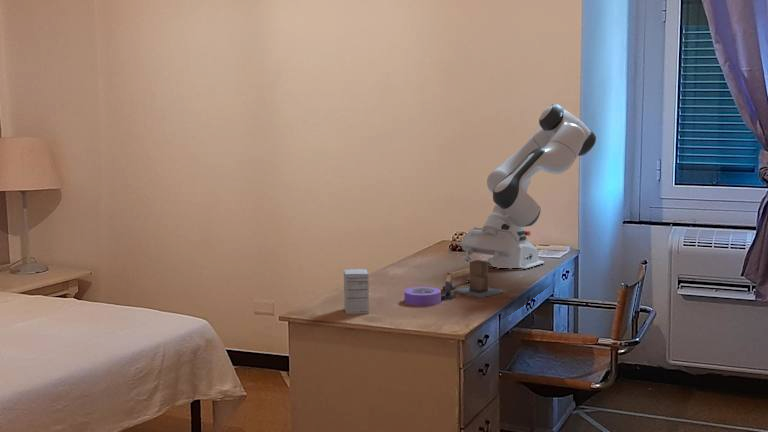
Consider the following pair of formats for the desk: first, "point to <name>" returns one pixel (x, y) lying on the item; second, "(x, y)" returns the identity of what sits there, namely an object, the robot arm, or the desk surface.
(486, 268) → the tan stacked post
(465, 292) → the slate pad
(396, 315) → the desk surface
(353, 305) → the supplement box
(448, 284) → the hinged wooden linkage
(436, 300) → the masking tape
